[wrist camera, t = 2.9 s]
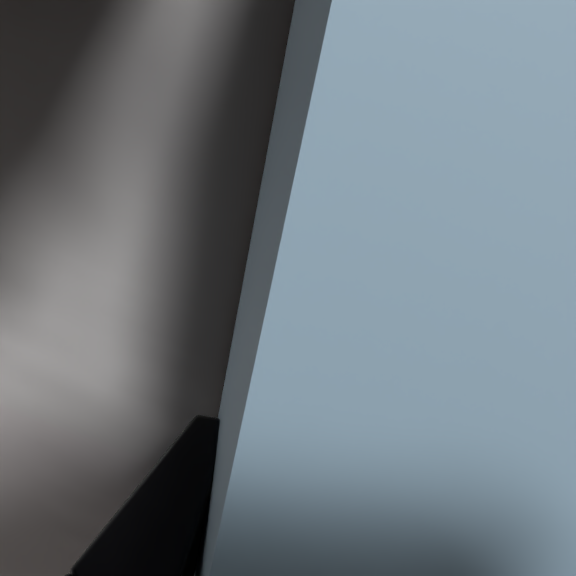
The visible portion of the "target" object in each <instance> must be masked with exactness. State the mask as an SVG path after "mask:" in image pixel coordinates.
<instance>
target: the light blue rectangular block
mask: <svg viewBox="0 0 576 576" xmlns="http://www.w3.org/2000/svg"><path fill="white" fill-rule="evenodd" d="M218 418H219V419H220V425H219V433H218V442H217V450H216V459H215V467H214V476H213V483H212V488H211V493H210V498H209V504H208V509H207V514H206V519H205V524H204V529H203V535H202V540H201V545H200V550H199V555H198V561H197V566H196V571H195V575H194V576H576V0H295V5H294V10H293V15H292V21H291V26H290V32H289V37H288V42H287V48H286V53H285V58H284V64H283V69H282V75H281V80H280V85H279V91H278V96H277V102H276V107H275V112H274V118H273V123H272V129H271V134H270V139H269V145H268V150H267V156H266V161H265V166H264V172H263V177H262V183H261V188H260V193H259V199H258V204H257V210H256V215H255V220H254V226H253V231H252V237H251V242H250V247H249V253H248V258H247V264H246V269H245V274H244V280H243V285H242V291H241V296H240V301H239V307H238V312H237V318H236V323H235V328H234V334H233V339H232V345H231V350H230V355H229V361H228V366H227V372H226V377H225V382H224V388H223V393H222V398H221V404H220V409H219V415H218Z"/></svg>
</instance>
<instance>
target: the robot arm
mask: <svg viewBox="0 0 576 576" xmlns="http://www.w3.org/2000/svg"><path fill="white" fill-rule="evenodd" d="M219 425H220V419H219V418H216V417H209V416H202V415H198V416H196V417H195V418H194V419H193V420H192V421H191V422H190V424H189V425H188V426H187V427H186V428H185V430H184V431H183V432H182V433H181V435H180V436H179V437H178V438H177V439H176V441H175V442H174V443H173V444H172V446H171V447H170V448H169V449H168V450H167V452H166V453H165V454H164V455H163V457H162V458H161V459H160V460H159V461H158V463H157V464H156V465H155V466H154V468H153V469H152V470H151V471H150V472H149V474H148V475H147V476H146V477H145V479H144V480H143V481H142V482H141V483H140V485H139V486H138V487H137V488H136V490H135V491H134V492H133V493H132V494H131V496H130V497H129V498H128V499H127V501H126V502H125V503H124V504H123V505H122V507H121V508H120V509H119V510H118V512H117V513H116V514H115V515H114V516H113V518H112V519H111V520H110V521H109V523H108V524H107V525H106V526H105V527H104V529H103V530H102V531H101V532H100V534H99V535H98V536H97V537H96V538H95V540H94V541H93V542H92V543H91V545H90V546H89V547H88V548H87V549H86V551H85V552H84V553H83V554H82V556H81V557H80V558H79V559H78V560H77V562H76V563H75V564H74V565H73V567H72V568H71V570H70V573H68V574H66V575H65V576H194V575H195V571H196V566H197V561H198V555H199V550H200V545H201V540H202V535H203V529H204V524H205V519H206V514H207V509H208V504H209V498H210V493H211V488H212V483H213V476H214V467H215V459H216V450H217V442H218V433H219Z"/></svg>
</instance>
